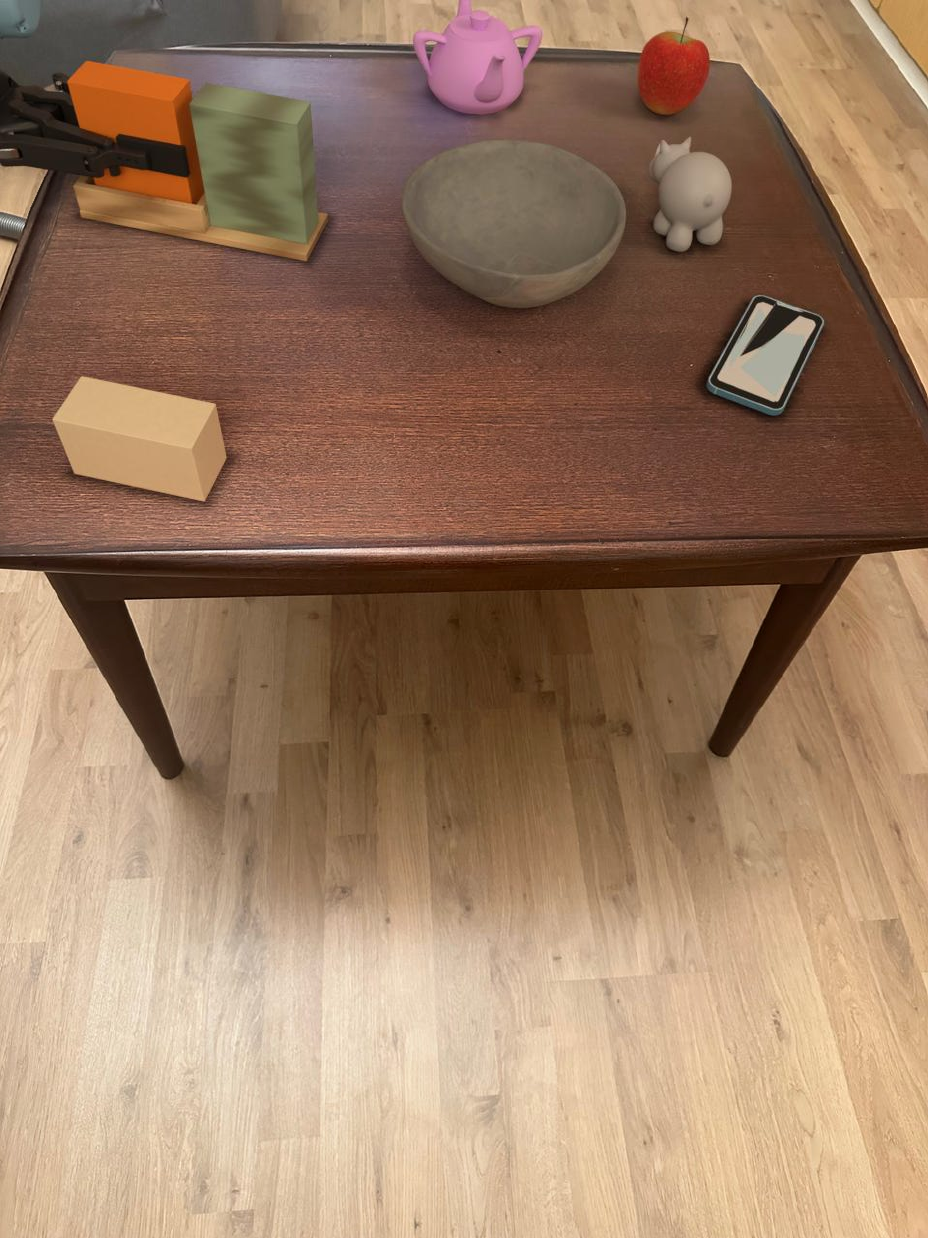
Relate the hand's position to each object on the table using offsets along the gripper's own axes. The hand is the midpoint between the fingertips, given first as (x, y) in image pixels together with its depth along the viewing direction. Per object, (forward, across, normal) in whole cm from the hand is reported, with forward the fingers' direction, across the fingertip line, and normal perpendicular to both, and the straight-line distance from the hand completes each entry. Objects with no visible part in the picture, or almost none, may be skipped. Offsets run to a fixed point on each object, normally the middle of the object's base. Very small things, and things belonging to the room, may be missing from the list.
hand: (195, 148), depth 90 cm
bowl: (+31, 0, -8) cm, 32 cm away
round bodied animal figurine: (+46, -15, -8) cm, 49 cm away
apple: (+43, -38, -8) cm, 58 cm away
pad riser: (+8, +33, -7) cm, 35 cm away
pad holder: (0, 0, -7) cm, 7 cm away
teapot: (+21, -33, -8) cm, 40 cm away
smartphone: (+57, +5, -7) cm, 58 cm away
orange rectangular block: (-5, 0, -7) cm, 9 cm away
